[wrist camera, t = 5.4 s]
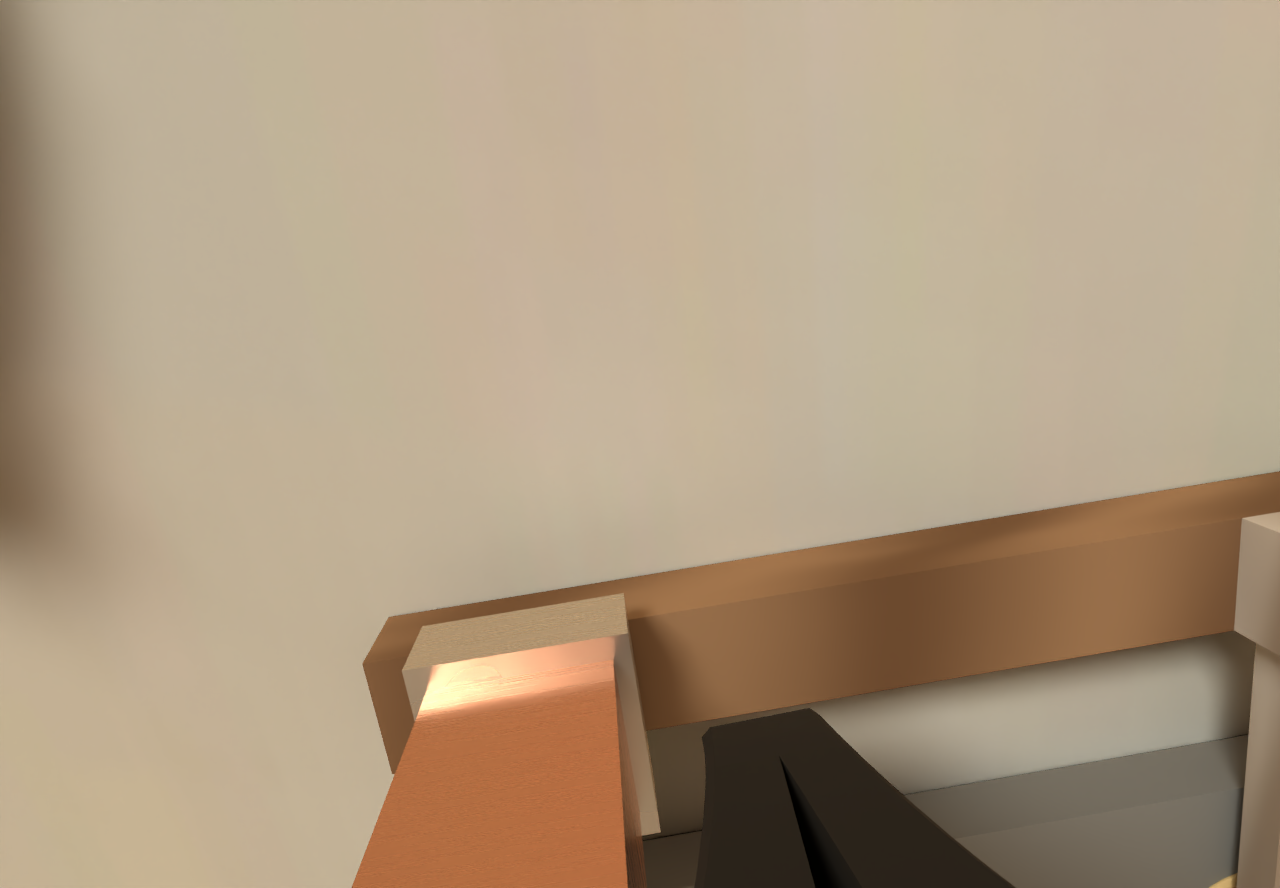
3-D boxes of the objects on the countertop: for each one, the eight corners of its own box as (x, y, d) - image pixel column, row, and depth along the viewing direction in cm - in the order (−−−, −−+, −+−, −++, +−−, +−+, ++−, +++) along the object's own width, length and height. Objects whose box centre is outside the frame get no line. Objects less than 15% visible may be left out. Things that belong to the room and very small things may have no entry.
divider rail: (1381, 454, 13) (1608, 509, 10) (1330, 881, 15) (1502, 1025, 12) (388, 617, 12) (327, 724, 10) (496, 1034, 15) (473, 1222, 12)
